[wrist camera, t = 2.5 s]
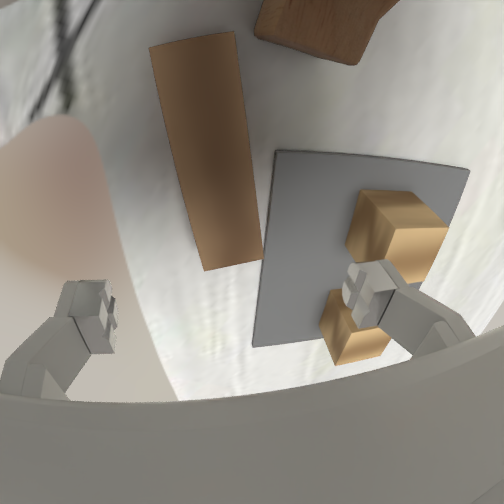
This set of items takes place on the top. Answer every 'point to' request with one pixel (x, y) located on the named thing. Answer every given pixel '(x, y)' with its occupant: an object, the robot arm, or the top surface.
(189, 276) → the top surface
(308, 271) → the mat
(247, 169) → the lintel
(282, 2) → the wooden block
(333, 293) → the cube
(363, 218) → the cube
